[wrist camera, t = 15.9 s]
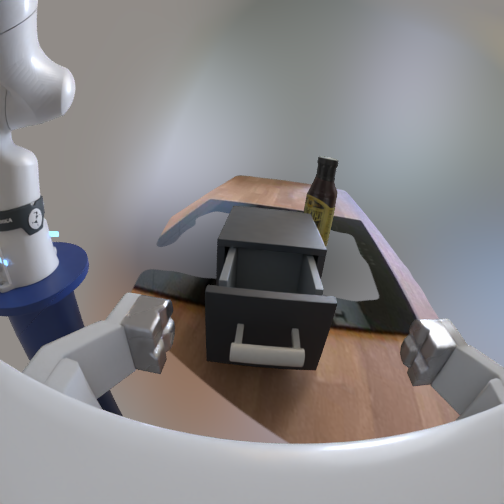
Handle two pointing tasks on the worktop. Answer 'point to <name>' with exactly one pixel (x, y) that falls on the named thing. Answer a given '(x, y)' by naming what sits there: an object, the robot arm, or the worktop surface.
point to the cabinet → (270, 234)
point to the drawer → (267, 311)
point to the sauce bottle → (323, 196)
